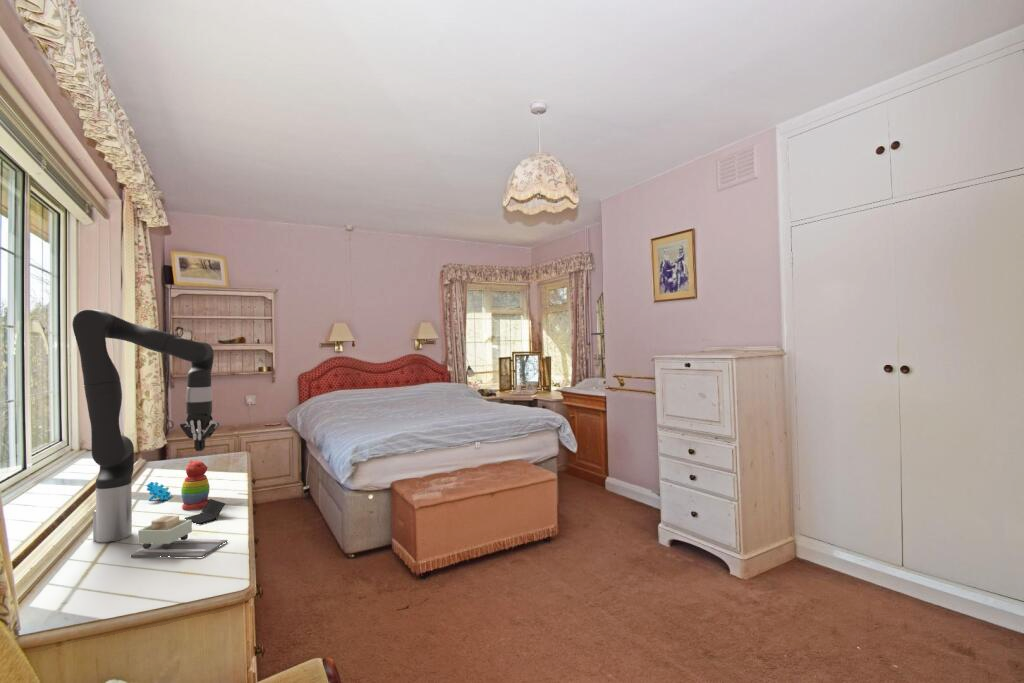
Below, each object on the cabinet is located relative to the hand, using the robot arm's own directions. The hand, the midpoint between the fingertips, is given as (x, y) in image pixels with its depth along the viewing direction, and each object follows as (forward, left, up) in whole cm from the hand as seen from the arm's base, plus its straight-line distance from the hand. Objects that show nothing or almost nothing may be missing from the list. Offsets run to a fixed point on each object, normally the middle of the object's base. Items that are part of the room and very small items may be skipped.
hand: (199, 450), depth 170 cm
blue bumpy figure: (-41, +32, -27) cm, 59 cm away
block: (+1, -17, -22) cm, 28 cm away
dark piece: (-6, +11, -27) cm, 30 cm away
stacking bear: (-19, +24, -27) cm, 41 cm away
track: (+6, -17, -27) cm, 32 cm away
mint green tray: (+1, -17, -25) cm, 30 cm away
